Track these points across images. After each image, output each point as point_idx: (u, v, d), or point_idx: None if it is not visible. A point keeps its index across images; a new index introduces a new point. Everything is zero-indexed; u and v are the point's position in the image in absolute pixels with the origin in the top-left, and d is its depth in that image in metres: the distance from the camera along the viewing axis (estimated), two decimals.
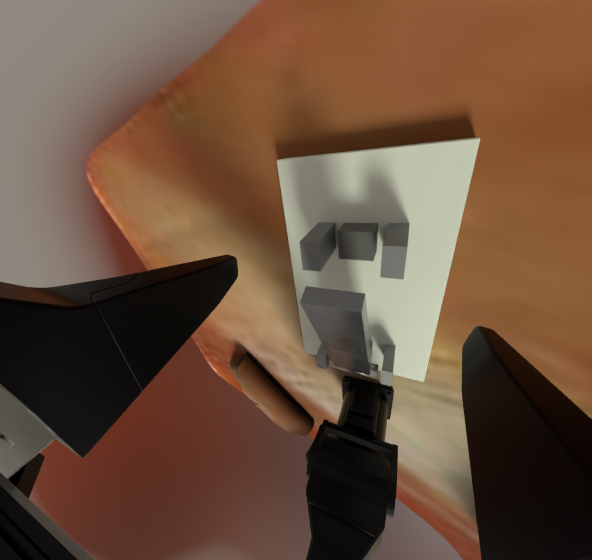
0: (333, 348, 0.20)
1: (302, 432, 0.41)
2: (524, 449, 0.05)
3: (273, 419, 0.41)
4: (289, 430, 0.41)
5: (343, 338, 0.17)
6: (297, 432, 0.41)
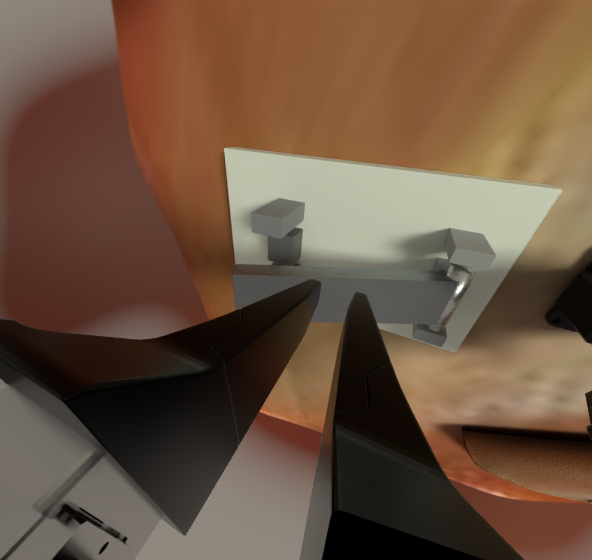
0: None
1: None
2: (336, 374, 0.06)
3: None
4: None
5: None
6: None
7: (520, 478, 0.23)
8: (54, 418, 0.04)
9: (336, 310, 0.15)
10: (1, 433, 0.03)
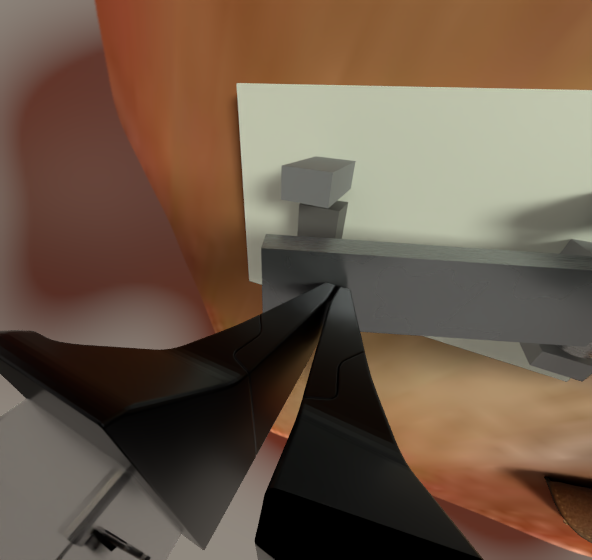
0: (450, 323, 0.10)
1: None
2: None
3: None
4: None
5: (387, 294, 0.09)
6: None
7: None
8: (78, 435, 0.03)
9: (425, 316, 0.09)
10: (24, 453, 0.03)
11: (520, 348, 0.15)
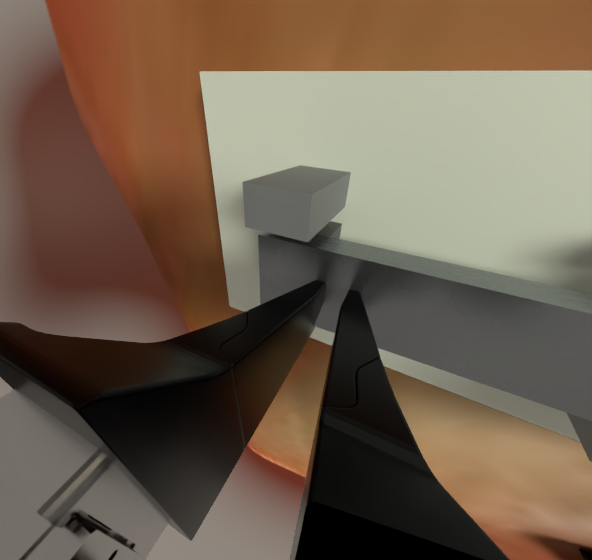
0: (452, 355, 0.08)
1: None
2: (327, 371, 0.06)
3: None
4: None
5: (376, 303, 0.08)
6: None
7: None
8: (62, 424, 0.04)
9: (420, 339, 0.08)
10: (8, 440, 0.03)
11: (563, 413, 0.11)
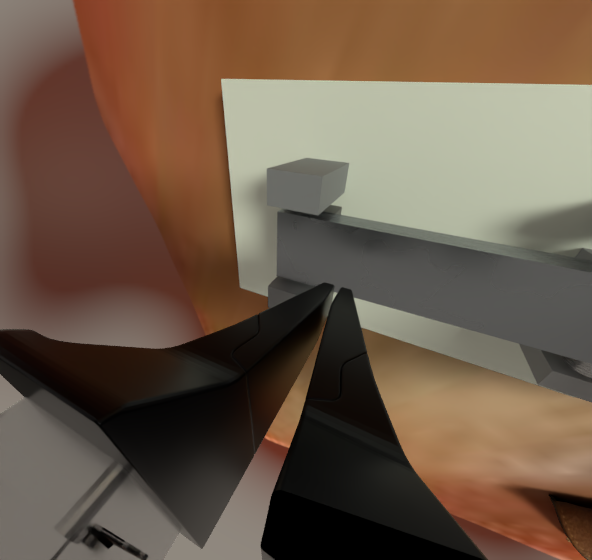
0: (431, 303, 0.11)
1: None
2: None
3: None
4: None
5: (371, 264, 0.11)
6: None
7: None
8: (75, 434, 0.03)
9: (406, 292, 0.11)
10: (21, 451, 0.03)
11: (525, 362, 0.14)
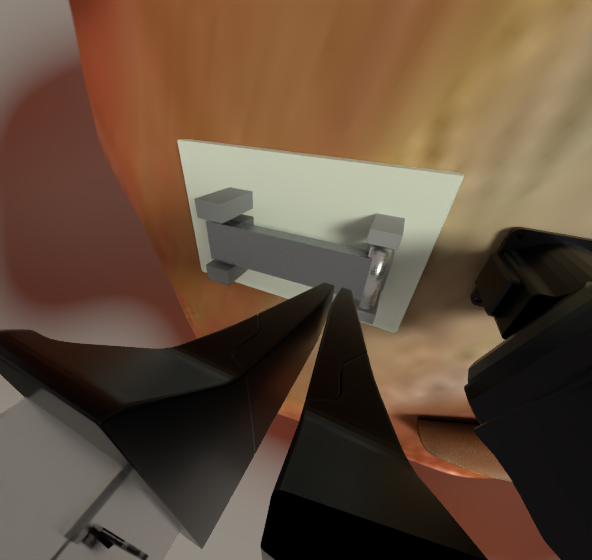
0: (288, 271, 0.19)
1: None
2: None
3: None
4: None
5: (256, 250, 0.19)
6: None
7: (463, 462, 0.25)
8: (76, 434, 0.03)
9: (275, 265, 0.19)
10: (22, 450, 0.03)
11: None
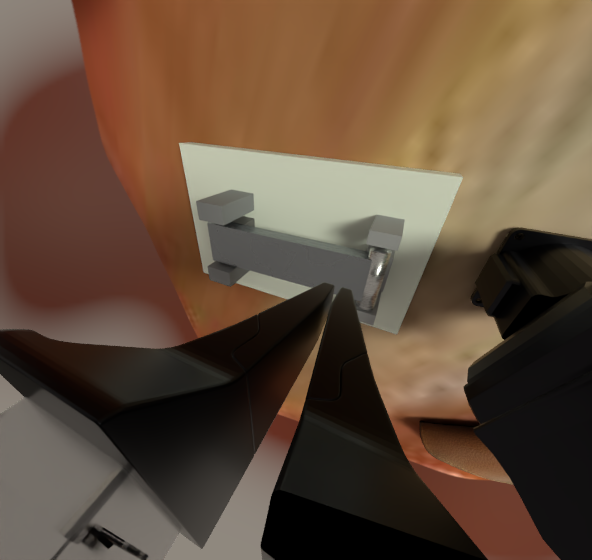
0: (288, 273, 0.19)
1: None
2: None
3: None
4: None
5: (257, 251, 0.20)
6: None
7: (465, 465, 0.25)
8: (76, 434, 0.03)
9: (276, 267, 0.20)
10: (21, 450, 0.03)
11: None
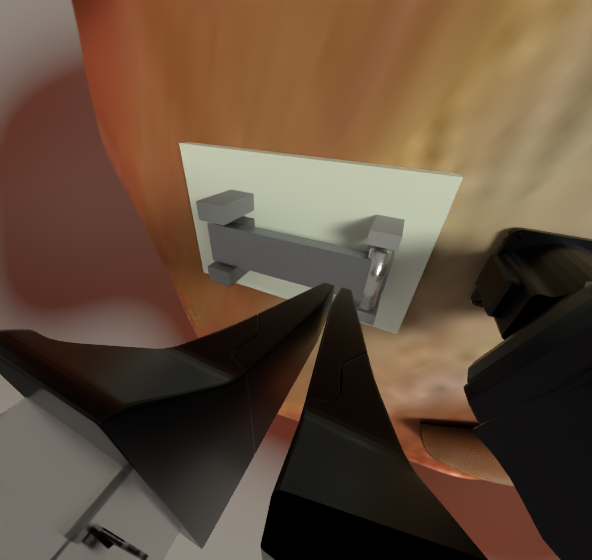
0: (288, 273, 0.19)
1: None
2: None
3: None
4: None
5: (257, 251, 0.20)
6: None
7: (466, 467, 0.25)
8: (76, 434, 0.03)
9: (276, 267, 0.20)
10: (21, 451, 0.03)
11: None
